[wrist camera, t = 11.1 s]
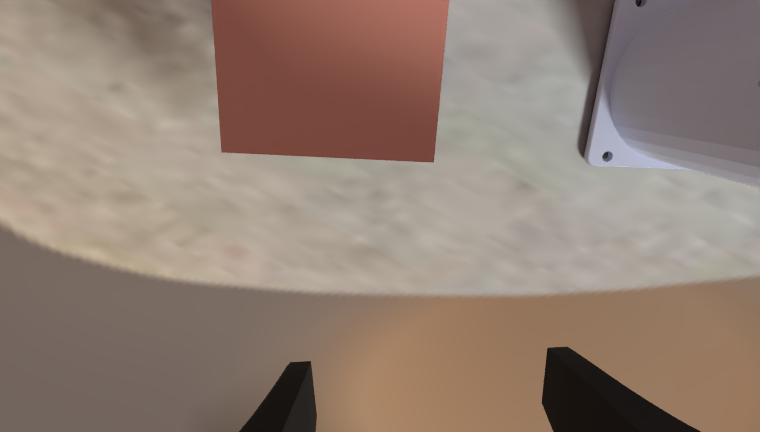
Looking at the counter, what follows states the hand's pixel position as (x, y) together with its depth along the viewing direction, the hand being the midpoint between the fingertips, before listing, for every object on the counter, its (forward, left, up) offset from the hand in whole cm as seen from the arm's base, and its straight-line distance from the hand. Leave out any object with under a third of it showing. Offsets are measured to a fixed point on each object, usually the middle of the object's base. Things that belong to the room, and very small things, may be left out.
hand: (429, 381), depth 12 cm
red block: (+3, -9, -4) cm, 10 cm away
